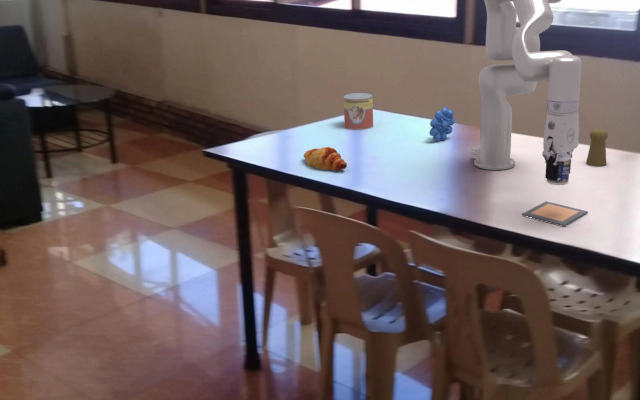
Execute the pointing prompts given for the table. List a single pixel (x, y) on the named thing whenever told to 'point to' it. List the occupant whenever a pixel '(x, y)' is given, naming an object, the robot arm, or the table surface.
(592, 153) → the cork
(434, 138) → the grapes
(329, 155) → the croissant
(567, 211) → the coaster
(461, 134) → the table surface
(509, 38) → the robot arm
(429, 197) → the table surface
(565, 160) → the pill bottle
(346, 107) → the canned food
